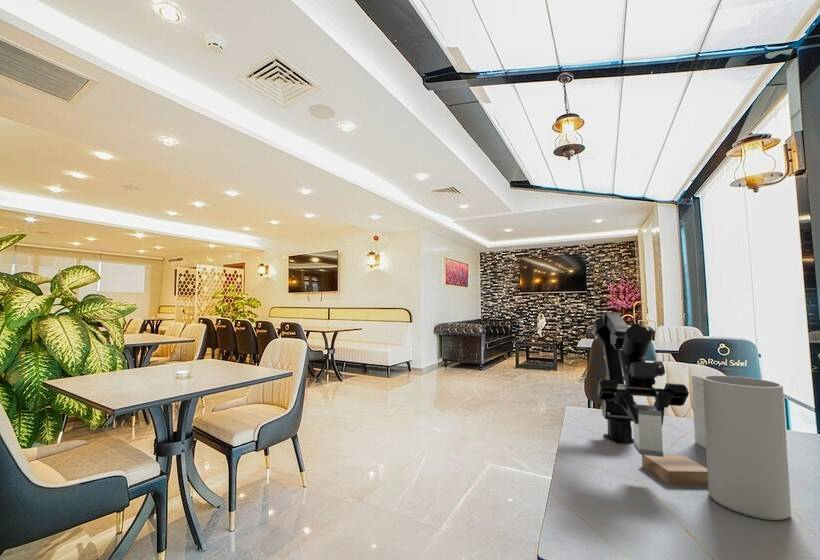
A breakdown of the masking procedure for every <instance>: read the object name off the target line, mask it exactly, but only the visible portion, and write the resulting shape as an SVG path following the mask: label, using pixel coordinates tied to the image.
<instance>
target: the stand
mask: <svg viewBox="0 0 820 560" xmlns="http://www.w3.org/2000/svg"><path fill="white" fill-rule="evenodd" d="M641 462H642V463H641V467H643V468H645V469H646V470H647V471H648V472H650V473H651V474H653V475H655V476H656V477H657V478H658V479H660V480H662V482H664V483H666V484H667V485H670V486H708V471H707V467H705V466H703V465H701V464H699V463H697V462H696V461H695V460H693V459H692V458H691V459H690V458H688V457H686V456H685V455H683V454H680V453H679V454H678V453H674V454H671V453H668V454H667V453H665V454H664V453H663V457H659V456H650V455H641Z"/></svg>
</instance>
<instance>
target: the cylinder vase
mask: <svg viewBox="0 0 820 560" xmlns="http://www.w3.org/2000/svg"><path fill="white" fill-rule="evenodd" d="M703 391H704V411H705V431H706V448H705V449H706V451H705V452H706V464H707V465H706V468H707V471H708V485H707V486H708V487H707V488H708V493H709V496H710V497H711V499H712V500H713V501H715V502H716V503H717V504H719V505H720V506H722V507H724V508H726V509H728V510H730V511H733V512H736V513H738V514H741V515H744V516H747V517H750V518H755V519H760V520H764V521H765V520H767V521H782V520H786V519H788V518H790V516H791V514H792V506H791V492H790V476H789V475H790V474H789V461H788V446H787V445H788V444H787V431H786V415H785V414H786V413H785V398H784V385H783V384H781V383H779V382H775V381H772V380H771V381H770V380H766V379H760V378H755V377H754V378H753V377H744V376H734V375H704V377H703Z"/></svg>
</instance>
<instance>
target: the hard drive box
mask: <svg viewBox="0 0 820 560" xmlns="http://www.w3.org/2000/svg"><path fill="white" fill-rule="evenodd" d="M704 376H705V375H704ZM704 376H702V375H692V376H691V382H692V383H691V385H692V403H693V422H694V423H693V424H694V440H695V443H696V444H698V445H699V446H701V447H702V448H705V449H706V431H705V411H704V391H703V377H704Z"/></svg>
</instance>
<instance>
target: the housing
mask: <svg viewBox="0 0 820 560" xmlns="http://www.w3.org/2000/svg"><path fill="white" fill-rule="evenodd" d="M633 406H634V409H635V412H636V415H637V420H638V424H635V423H634V422H633V421H632V422H633V439H634V442H633V447H634V448H635V450H636V451H637V453H638V454H639V455H641V456H642V455H650V456H659V457H663V454H664V451H663V448H664V447H663V425H662V418H661V416H662V412H661V411H660V410H659V409H658V408H656V407H655V406H654V405H652V404H651V405H649V404H637V403H636V404H633Z"/></svg>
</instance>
